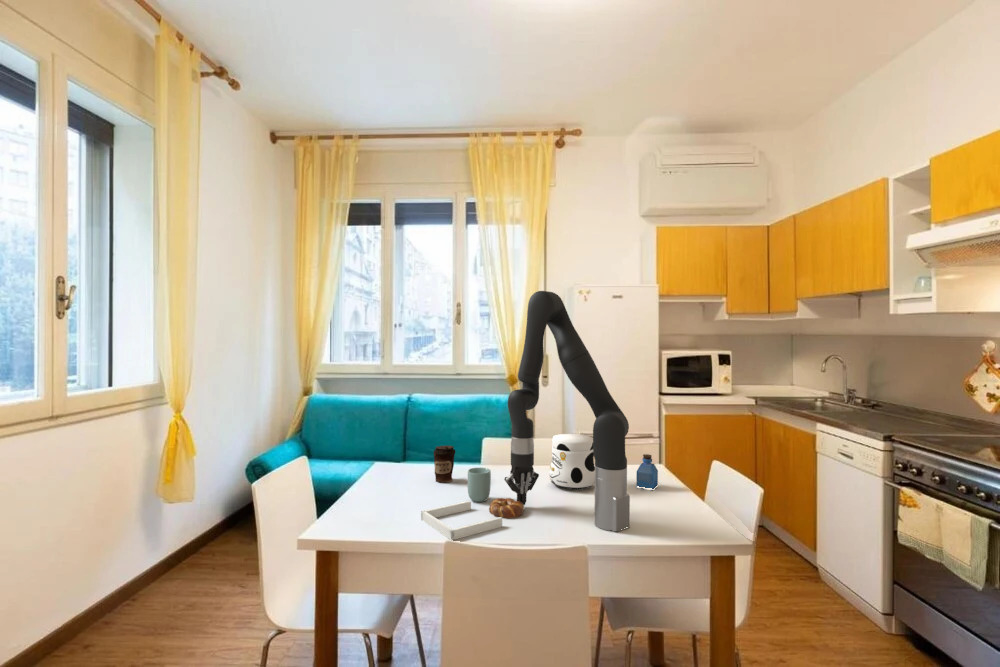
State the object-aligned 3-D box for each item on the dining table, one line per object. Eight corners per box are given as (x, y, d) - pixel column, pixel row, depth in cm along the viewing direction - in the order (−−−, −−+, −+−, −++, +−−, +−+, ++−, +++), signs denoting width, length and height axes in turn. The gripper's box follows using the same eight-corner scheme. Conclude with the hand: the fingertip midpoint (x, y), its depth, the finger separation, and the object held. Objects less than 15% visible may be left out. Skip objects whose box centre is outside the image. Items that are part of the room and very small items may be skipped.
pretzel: (480, 512, 148) (480, 500, 148) (504, 504, 156) (504, 493, 156) (506, 522, 139) (506, 510, 140) (531, 513, 147) (531, 501, 147)
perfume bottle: (657, 486, 176) (657, 454, 176) (653, 491, 171) (653, 458, 171) (641, 484, 179) (641, 452, 179) (636, 488, 174) (636, 455, 174)
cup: (487, 504, 154) (487, 474, 154) (464, 503, 155) (465, 472, 156) (492, 497, 161) (493, 468, 162) (470, 495, 163) (471, 466, 163)
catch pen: (502, 526, 136) (502, 517, 136) (451, 540, 126) (451, 531, 126) (469, 508, 150) (469, 500, 150) (421, 519, 140) (421, 511, 140)
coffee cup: (453, 484, 176) (454, 449, 176) (431, 484, 176) (432, 449, 176) (456, 477, 184) (456, 444, 185) (435, 477, 184) (435, 444, 185)
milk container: (539, 485, 175) (540, 437, 176) (566, 476, 188) (566, 431, 188) (579, 496, 163) (579, 444, 164) (604, 485, 176) (605, 437, 177)
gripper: (512, 455, 145) (512, 511, 145) (545, 450, 153) (544, 503, 152) (499, 450, 151) (498, 504, 151) (531, 446, 159) (530, 497, 159)
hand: (521, 504), depth 152 cm, fingers closed
